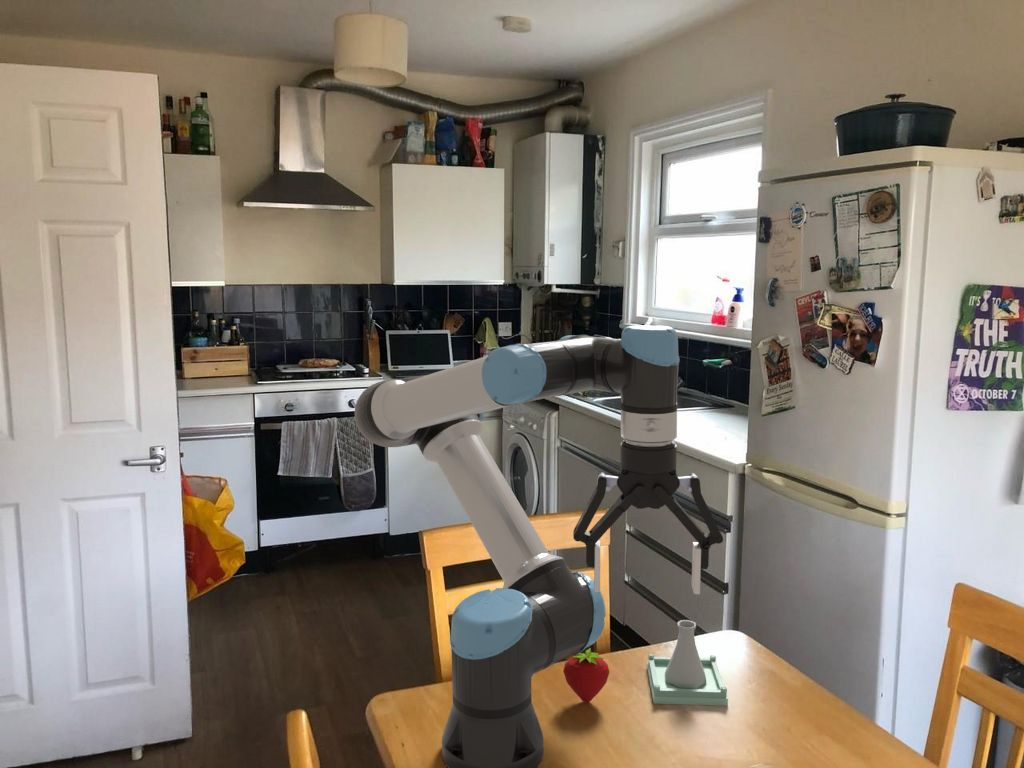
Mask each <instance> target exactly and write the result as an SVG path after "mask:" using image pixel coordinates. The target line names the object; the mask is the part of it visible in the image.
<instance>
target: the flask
mask: <svg viewBox="0 0 1024 768" xmlns="http://www.w3.org/2000/svg"><path fill="white" fill-rule="evenodd" d="M676 625H677V629H678V635H677V636H678V637H677V640H676V645H675V647H674V650H673V652H672V655H671V656H670V657H671V659H670V662H669V664H668V666H667V669H666V671H665V682H668V683H670V684H672V685H675V686H677V687H680V688H695V689H698V688H699V687H701V686H702V685H704V684H705V683H706V682H707V681H706V676H705V672H704V669H703V666H702V663H701V660H700V658H701V657H700V653H699V651H698V648H697V645H696V640H695V630H696V628H697V623H696V621H695V622H694V621H692V620H688V619H683V620H682V619H681V620H679V621H677V624H676Z"/></svg>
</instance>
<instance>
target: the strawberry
mask: <svg viewBox="0 0 1024 768" xmlns="http://www.w3.org/2000/svg"><path fill="white" fill-rule="evenodd" d="M591 649H592V648H590V646H589V647H588V649H585V650H584V651H585V653H584V652H583V653H582V652H581V653H579V654H576V655H571V656H570V657H569V659H568V660H567V661H566V662H565V663H564V667H563V675H564V679H565V681H566V683H567V685H568V686H569V687H570V689H571V690H572V691H573V692H574V693H575V694H576V696H578V697H579V699H580V700H581V701H582V702H584V703H590V702H591V701H593V699H594V698H595V697H596V696H597V695H598V694H599V693H600V692H601V690H602V689H603V688H604V687H605V685H606V683H607V682H608V678H609V675H610V668H609V665H608V663H607V662H606V661H605V660H604V659H605V658H604V657H602V656H599V654H600V653H598V652H592V650H591Z"/></svg>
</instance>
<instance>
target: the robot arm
mask: <svg viewBox="0 0 1024 768" xmlns="http://www.w3.org/2000/svg"><path fill="white" fill-rule="evenodd" d="M679 366H680V356H679V336H678V332H677V331H676V329H674V328H673V327H672V326H667V325H648V324H646V325H645V324H644V325H643V324H642V325H630V326H628V325H627V326H626V327H624V328H623V330H622V332H621V338H611V337H600V336H590V335H588V334H579V335H578V334H577V335H572V334H571V335H565V336H562V337H561V338H559V339H558V340H553V341H552V340H551V341H546V342H545V341H543V342H536V343H535V342H534V343H523V344H521V343H514V344H513V343H512V344H509V345H506V346H501V347H496V348H495V349H493V350H491V351H490V352H489V353H488V355H486V356H483V357H479V358H477V359H473V360H470V361H467V362H464V363H460V364H458V365H455V366H452V367H448V368H446V369H443V370H439V371H435V372H432V373H430V374H424V375H418V376H417V375H416V376H409V377H399V378H390V379H386V380H381V381H377V382H375V383H374V384H373V383H372V384H371V385H370V386H368V387H367V388H366V389H364V390H363V392H362V393H361V394H360V395H359V396H358V398H357V401H356V403H355V407H354V421H355V424H356V425H355V426H356V427H357V429H358V431H359V432H360V433H361V436H363V437H364V438H365V439H366V440H367V441H369V442H370V443H372V444H374V445H377V446H379V447H384V448H399V447H400V448H401V447H407V446H412V445H416V446H417V447H418V449H419V450H420V452H421V454H422V455H423V457H424V459H425V460H426V461H430V462H434V463H437V465H438V466H439V468H440V469H441V472H442V473H443V475H444V477H445V478H446V480H447V482H448V484H449V486H450V487H451V489H452V491H453V493H454V494H455V496H456V499H457V500H458V502H459V504H460V506H461V507H462V508H463V511H464V513H465V514H466V517H467V518H468V520H469V522H470V523H471V525H472V527H473V528H474V530H475V532H476V534H477V536H478V538H479V539H480V541H481V543H482V544H483V547H484V549H485V550H486V552H487V554H488V556H489V557H490V559H491V561H492V562H493V564H494V567H495V568H496V570H497V571H498V573H499V575H500V577H501V578H502V580H503V585H502V587H501V588H500V587H499V588H498V587H496V588H495V589H493V590H490V589H483V590H480V591H477V592H475V593H473V594H470V595H469V596H467V597H465V598H464V599H463V600H461V602H459V603H458V605H457V606H456V607H455V609H454V611H453V613H452V615H451V616H452V617H451V630H450V634H449V644H450V646H451V647H450V649H451V650H450V651H451V677H452V678H451V680H452V681H451V682H452V684H451V685H452V688H451V689H452V705H451V708H450V712H449V714H448V718H447V720H446V724H445V727H444V729H443V730H444V731H443V733H442V736H441V757H443V758H442V761H443V760H444V761H443V763H444V762H445V763H446V765H447V766H448V767H449V768H537V767H538V766H539V765H540V764H541V762H542V761H543V758H544V752H545V751H544V750H545V749H544V748H545V747H544V745H545V743H544V740H545V739H544V734H543V730H542V728H541V725H540V722H539V719H538V716H537V714H536V710H535V708H534V705H533V701H532V700H533V699H532V697H533V696H532V677H533V676H534V675H535V674H537V673H539V672H541V671H543V670H545V669H548V668H549V667H552V666H554V665H556V664H557V663H559V662H561V661H563V660H565V659H567V658H570V657H572V656H576V654H579V653H582V652H583V651H585V650H586V649H587V648H589V647H590V646H592V645H594V644H595V643H596V642H597V641H598V640H599V639H600V638H601V636H602V633H603V632H604V628H605V625H606V623H605V618H606V617H607V616H606V614H607V613H606V612H607V611H606V604H605V600H604V596H603V594H602V592H601V540H600V539H601V538H602V537H603V536H604V534H605V533H607V531H608V530H609V529H610V528H611V527H612V526H613V525H614V524H615V522H616V521H617V520H618V519H619V518H620V517H621V516H622V515H623V514H624V513H625V512H627V511H628V510H629V508H631V506H632V507H634V508H636V509H639V510H641V509H647V508H650V509H653V510H660V508H662V507H664V506H666V507H667V509H669V511H670V512H671V513H672V514H673V515H674V516H675V517H676V518H677V520H678V521H679V522H680V523H681V525H683V526H684V528H685V529H686V530H687V531H688V532H689V534H690V536H691V535H692V537H693V538H694V540H695V541H692V554H691V555H692V556H691V558H692V559H691V560H692V561H691V589H692V591H693V594H694V595H700V594H701V570H707V569H708V567H709V561H710V560H709V558H710V556H709V555H710V554H709V553H710V548H711V546H713V545H715V544H718V545H719V544H720V545H721V544H722V543H723V541H724V537H723V535H722V532H721V531H720V529H719V527H718V525H717V523H716V521H715V519H714V517H713V514H712V513H711V511H710V509H709V507H708V505H707V503H706V501H705V499H704V496H703V495H702V490H701V481H700V479H699V477H698V475H697V473H695V472H691V473H690V474H689V475H684V476H678V474H677V449H678V448H677V447H678V445H677V444H676V442H675V441H674V440H676V439H677V438H678V437H677V434H678V430H677V429H678V428H677V427H678V402H677V401H678V385H679V384H678V382H679V368H680V367H679ZM588 391H589V392H590V391H599V392H600V391H601V392H606V393H607V392H608V393H615V394H620V436H621V438H622V439H623V440H622V441H621V442H620V457H619V458H620V461H619V462H620V465H619V466H620V468H619V474H618V475H617V476H616V475H609V474H606V473H605V472H602V471H601V472H599V473H598V474H597V478H596V486H595V488H594V490H593V493H592V495H591V496H590V498H589V500H588V502H587V504H586V506H585V508H584V510H583V511H582V514H581V516H579V519H578V521H577V523H576V525H575V527H574V528H573V535H572V537H573V540H574V541H575V542H580V543H583V544H584V545H585V549H586V551H585V552H586V553H585V556H586V557H585V560H586V561H585V562H586V566H587V568H593V569H594V571H593V573H594V577H593V578H594V579H593V578H592V577H591V576H590V575H587V574H585V573H583V572H580V571H572V570H571V569H570V567H569V565H568V564H567V562H566V561H565V558H564V557H562V556H558V555H554V554H551V553H550V552H549V550H548V549H547V547H546V546H545V544H544V542H543V540H542V539H541V537H540V536H539V534H538V532H537V530H536V529H535V527H534V525H533V523H532V522H531V520H530V519H529V516H528V515H527V513H526V512H525V510H524V508H523V507H522V505H521V504H520V503H521V502H519V500H518V499H517V496H516V494H514V492H513V490H512V488H511V487H510V485H509V483H508V482H507V479H506V478H505V476H504V475H503V473H502V471H501V470H500V468H499V466H498V465H497V463H496V461H495V460H494V458H493V456H492V455H491V452H490V451H489V449H488V448H487V447H486V444H485V443H484V441H483V439H482V438H481V437H482V433H483V430H484V425H483V422H482V421H483V419H484V418H483V417H484V413H487V412H491V411H495V410H499V409H504V408H506V407H511V406H516V405H520V404H524V403H525V404H526V403H529V402H533V401H536V400H543V399H549V398H553V397H560V396H565V395H571V394H578V393H583V392H588ZM614 486H617V488H618V489H619V491H621V494H620V496H618V497H617V499H616V500H615V502H614V503H613V504H612V506H610V508H609V509H608V510H607V511H606V512H605V513H604V514H603V515H602V517H601V518H599V520H598V521H596V523H595V524H594V525H593V526H592V528H591V529H590V530H589V531H587V530H588V528H589V526H590V525H591V523H592V520H593V518H594V517H595V515H596V513H597V511H598V509H599V508H600V506H601V503H602V501H604V498H605V495H606V492H610V491H611V490H612V489H613V487H614ZM679 487H683V489H684V490H685V491H686V493H690V494H691V496H692V498H693V500H694V502H695V505H696V506H697V509H698V511H699V512H700V515H701V516H702V518H703V521H704V522H705V524H706V528H708V531H709V532H707V533H704V531H703V530H702V529H701V528H700V526H699V525H698V524H697V523H696V522H695V521H694V520H693V519H692V517H691V516H690V515H689V514H688V513H687V511H686V510H685V509H684V508H683V507H682V506H681V504H680V503H679V502H678V500H677V499H676V498H675V497H674V494H675V493H676V492H677V490H678V489H679ZM445 763H444V764H445ZM446 765H445V766H446ZM447 766H446V767H447ZM448 767H447V768H448Z"/></svg>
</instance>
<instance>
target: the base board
mask: <svg viewBox="0 0 1024 768" xmlns="http://www.w3.org/2000/svg"><path fill="white" fill-rule="evenodd" d="M647 657H648V661H646V668H647V669H646V670H647V675H648V680H649V685H650V691H651V697H652V703H653V704H659V705H660V704H661V705H662V704H663V705H689V706H690V705H692V706H696V705H697V706H719V707H720V706H726V707H727V706H729V698H728V695H727V694H728V693H727V692H728V688H727V687H725V683H724V681H723V677H722V675H721V672H720V669H719V666H718V664H717V656H715V655H713V654H712V655H709V657H706V658H705V657H699V658H700V660H701V663H702V666H703V669H704V672H705V676H706V681H707V682H706V683H705V684H704V685H702V686H701V687H699V688H698V689H695V688H680V687H677V686H675V685H672V684H670V683H668V682H665V671H666V669H667V666H668V664H669V662H670V659H671V657H672V656H669V657H668V656H655V655H654V654H653V653H648V656H647Z"/></svg>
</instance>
